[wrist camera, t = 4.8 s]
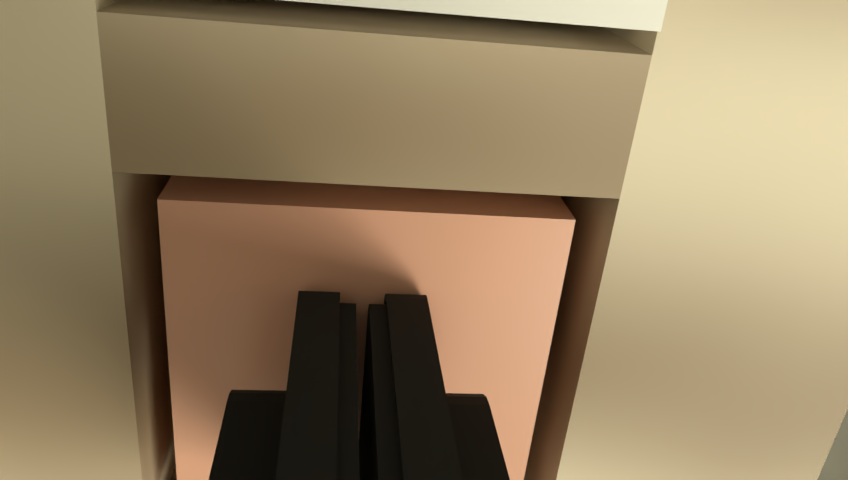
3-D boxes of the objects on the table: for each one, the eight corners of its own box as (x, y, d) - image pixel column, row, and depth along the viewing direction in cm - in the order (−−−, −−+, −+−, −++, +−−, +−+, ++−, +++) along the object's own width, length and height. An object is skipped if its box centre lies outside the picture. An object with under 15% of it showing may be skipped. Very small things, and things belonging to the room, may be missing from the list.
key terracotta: (197, 133, 11) (156, 199, 8) (530, 153, 11) (575, 219, 9) (209, 406, 13) (179, 517, 11) (488, 411, 13) (515, 516, 11)
